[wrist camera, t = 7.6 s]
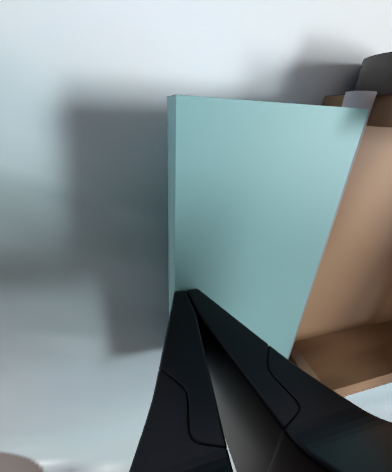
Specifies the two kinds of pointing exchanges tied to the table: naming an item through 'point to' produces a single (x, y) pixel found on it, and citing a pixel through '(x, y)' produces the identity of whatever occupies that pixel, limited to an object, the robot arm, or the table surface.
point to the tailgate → (257, 201)
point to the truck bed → (356, 261)
